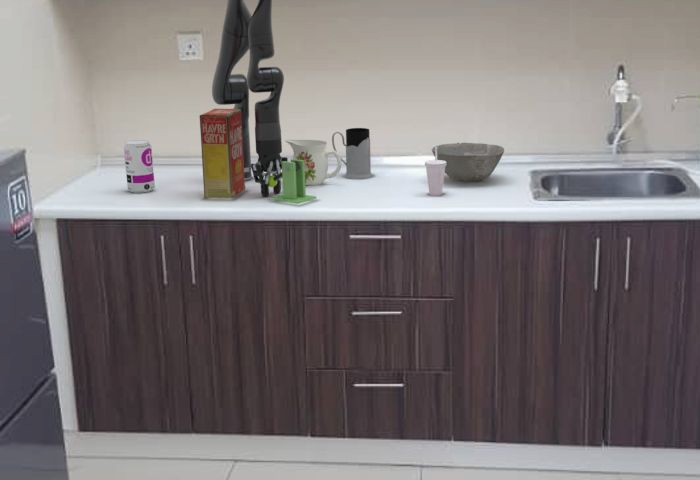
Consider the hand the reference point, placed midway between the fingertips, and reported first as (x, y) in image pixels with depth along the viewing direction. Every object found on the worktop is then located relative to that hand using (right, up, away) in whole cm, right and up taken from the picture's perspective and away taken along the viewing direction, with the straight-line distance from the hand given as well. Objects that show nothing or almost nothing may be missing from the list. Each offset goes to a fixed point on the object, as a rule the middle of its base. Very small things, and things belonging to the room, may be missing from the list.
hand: (271, 194), depth 291 cm
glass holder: (+23, +8, +29) cm, 38 cm away
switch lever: (+4, +4, -5) cm, 7 cm away
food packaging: (-14, 0, +5) cm, 15 cm away
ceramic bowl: (+60, +6, +18) cm, 63 cm away
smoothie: (+49, 0, 0) cm, 49 cm away
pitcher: (+12, +4, +16) cm, 20 cm away
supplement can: (-41, +2, +13) cm, 43 cm away
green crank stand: (+7, -2, -5) cm, 9 cm away
